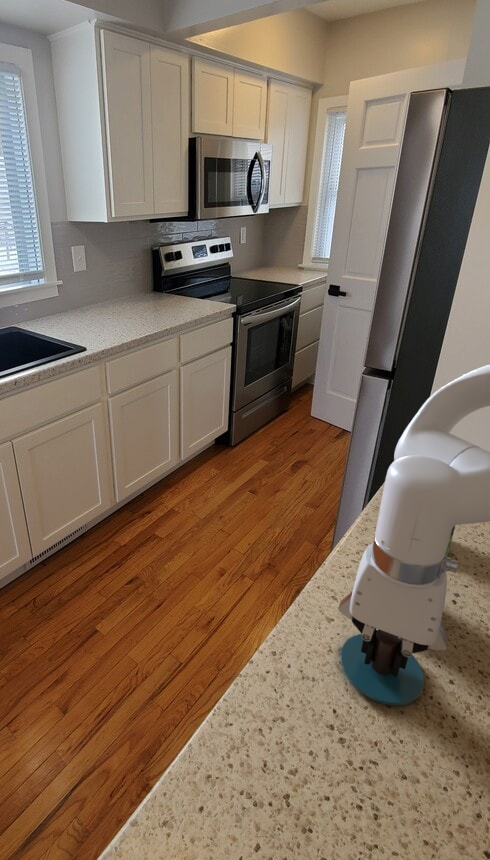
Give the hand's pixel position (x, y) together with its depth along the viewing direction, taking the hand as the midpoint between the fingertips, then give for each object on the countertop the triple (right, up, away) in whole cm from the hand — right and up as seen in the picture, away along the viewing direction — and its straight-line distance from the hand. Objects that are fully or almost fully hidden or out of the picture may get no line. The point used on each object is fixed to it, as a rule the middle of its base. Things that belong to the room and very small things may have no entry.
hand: (382, 660), depth 65 cm
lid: (0, -1, +1) cm, 1 cm away
